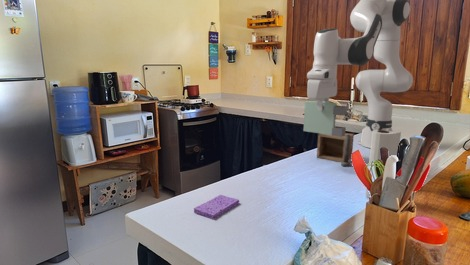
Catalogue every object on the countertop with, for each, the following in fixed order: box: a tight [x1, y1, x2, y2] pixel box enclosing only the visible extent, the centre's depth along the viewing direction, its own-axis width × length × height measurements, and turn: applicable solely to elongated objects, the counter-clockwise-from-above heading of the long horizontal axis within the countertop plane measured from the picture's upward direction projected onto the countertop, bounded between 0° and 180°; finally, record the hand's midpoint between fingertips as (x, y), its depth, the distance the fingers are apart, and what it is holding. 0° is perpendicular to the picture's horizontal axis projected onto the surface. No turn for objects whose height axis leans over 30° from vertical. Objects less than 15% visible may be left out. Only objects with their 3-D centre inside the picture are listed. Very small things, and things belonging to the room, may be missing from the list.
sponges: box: [193, 194, 240, 220], centre depth 91 cm, size 7×13×2 cm, turn 145°
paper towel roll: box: [365, 130, 402, 199], centre depth 96 cm, size 7×6×21 cm
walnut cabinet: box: [316, 132, 355, 168], centre depth 137 cm, size 14×16×13 cm
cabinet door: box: [303, 100, 348, 137], centre depth 121 cm, size 4×16×12 cm, turn 52°
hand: (322, 109), depth 121 cm, fingers closed on cabinet door, 2 cm apart
